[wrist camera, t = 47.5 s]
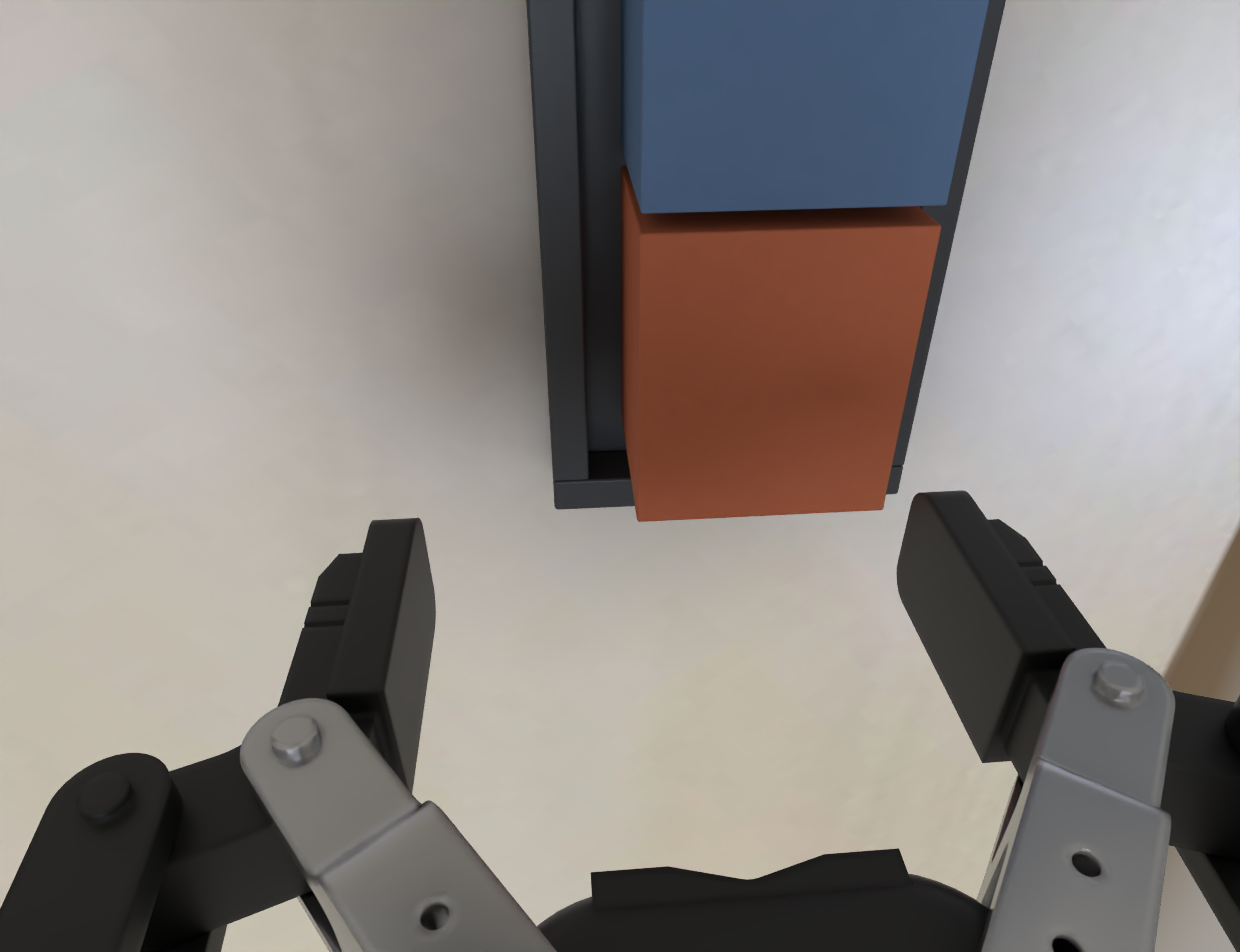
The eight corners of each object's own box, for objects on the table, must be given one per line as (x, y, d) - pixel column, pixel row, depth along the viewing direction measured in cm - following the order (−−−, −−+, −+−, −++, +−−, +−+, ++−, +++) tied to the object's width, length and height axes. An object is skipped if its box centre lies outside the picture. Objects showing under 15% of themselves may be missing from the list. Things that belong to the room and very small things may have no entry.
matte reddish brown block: (620, 166, 21) (639, 234, 17) (864, 159, 21) (943, 225, 17) (621, 416, 25) (637, 522, 21) (826, 408, 25) (883, 510, 21)
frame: (507, -373, 16) (503, -405, 14) (1036, -365, 16) (1094, -394, 15) (554, 470, 26) (555, 510, 25) (875, 456, 27) (897, 494, 25)
